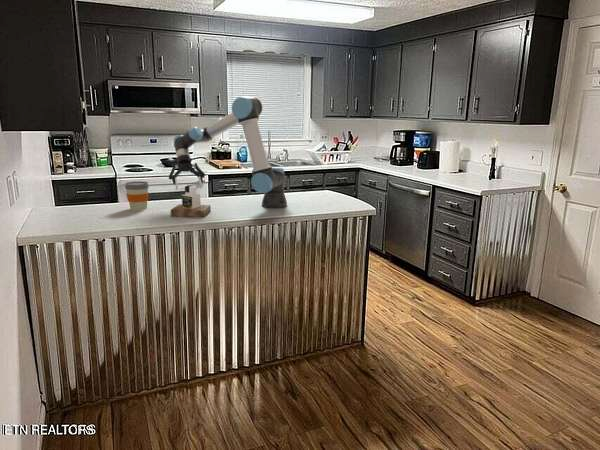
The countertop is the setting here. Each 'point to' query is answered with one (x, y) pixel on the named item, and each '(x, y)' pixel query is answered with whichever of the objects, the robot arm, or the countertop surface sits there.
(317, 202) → the countertop surface
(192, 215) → the block
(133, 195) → the reusable coffee cup
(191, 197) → the medicine bottle
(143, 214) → the countertop surface
